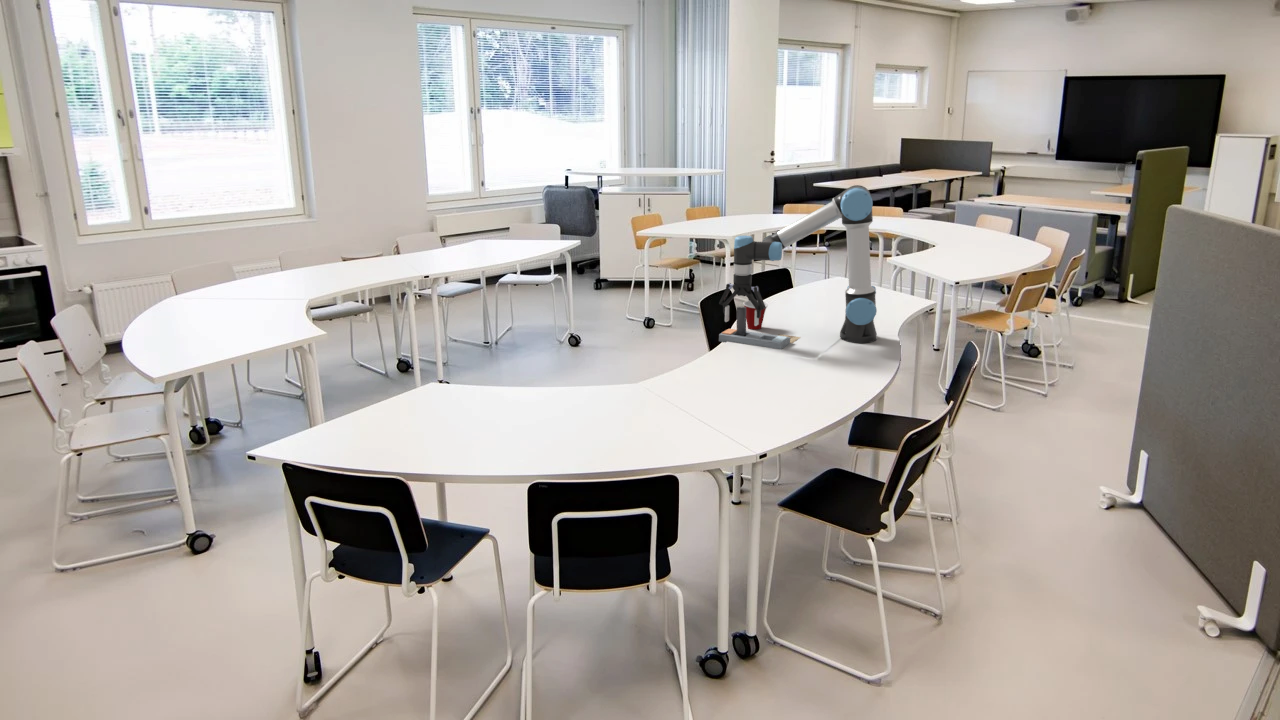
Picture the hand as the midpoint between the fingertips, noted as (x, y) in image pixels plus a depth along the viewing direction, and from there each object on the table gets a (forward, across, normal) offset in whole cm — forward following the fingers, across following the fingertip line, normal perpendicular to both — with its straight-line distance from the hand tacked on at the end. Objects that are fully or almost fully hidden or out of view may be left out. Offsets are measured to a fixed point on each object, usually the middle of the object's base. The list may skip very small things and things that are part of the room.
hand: (741, 323), depth 347 cm
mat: (+8, -16, -10) cm, 20 cm away
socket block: (+8, -6, 0) cm, 10 cm away
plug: (+7, 0, 0) cm, 7 cm away
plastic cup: (+8, +2, -19) cm, 21 cm away
